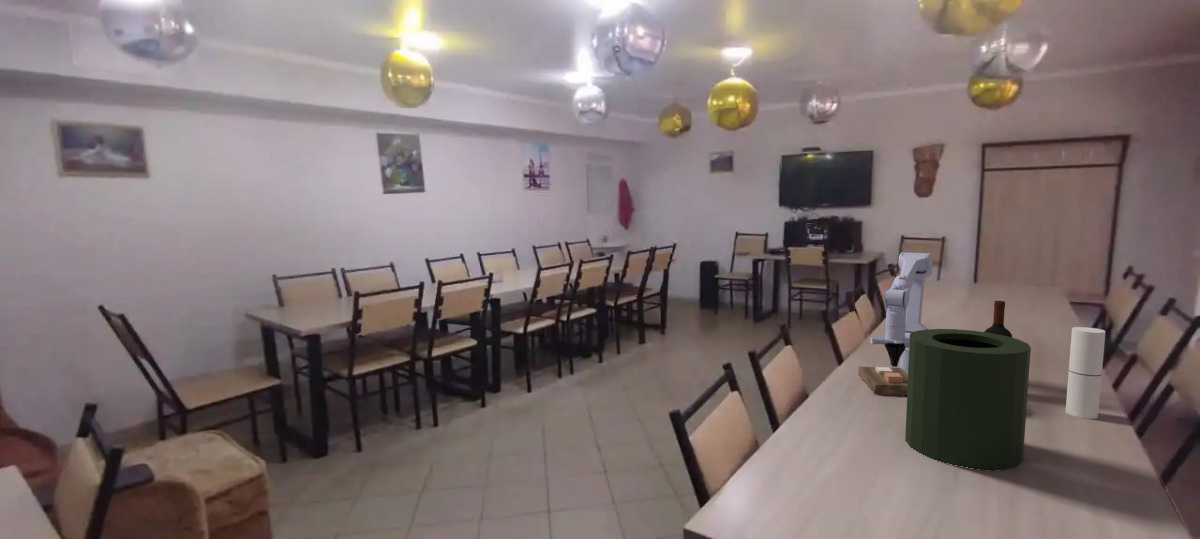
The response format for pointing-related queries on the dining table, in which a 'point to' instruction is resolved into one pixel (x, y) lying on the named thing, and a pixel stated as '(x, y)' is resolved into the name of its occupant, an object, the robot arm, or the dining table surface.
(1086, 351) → the cylindrical container
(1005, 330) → the wine bottle
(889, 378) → the salmon orange square block
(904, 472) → the dining table surface
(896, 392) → the key panel
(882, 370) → the off white key
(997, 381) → the flower pot
